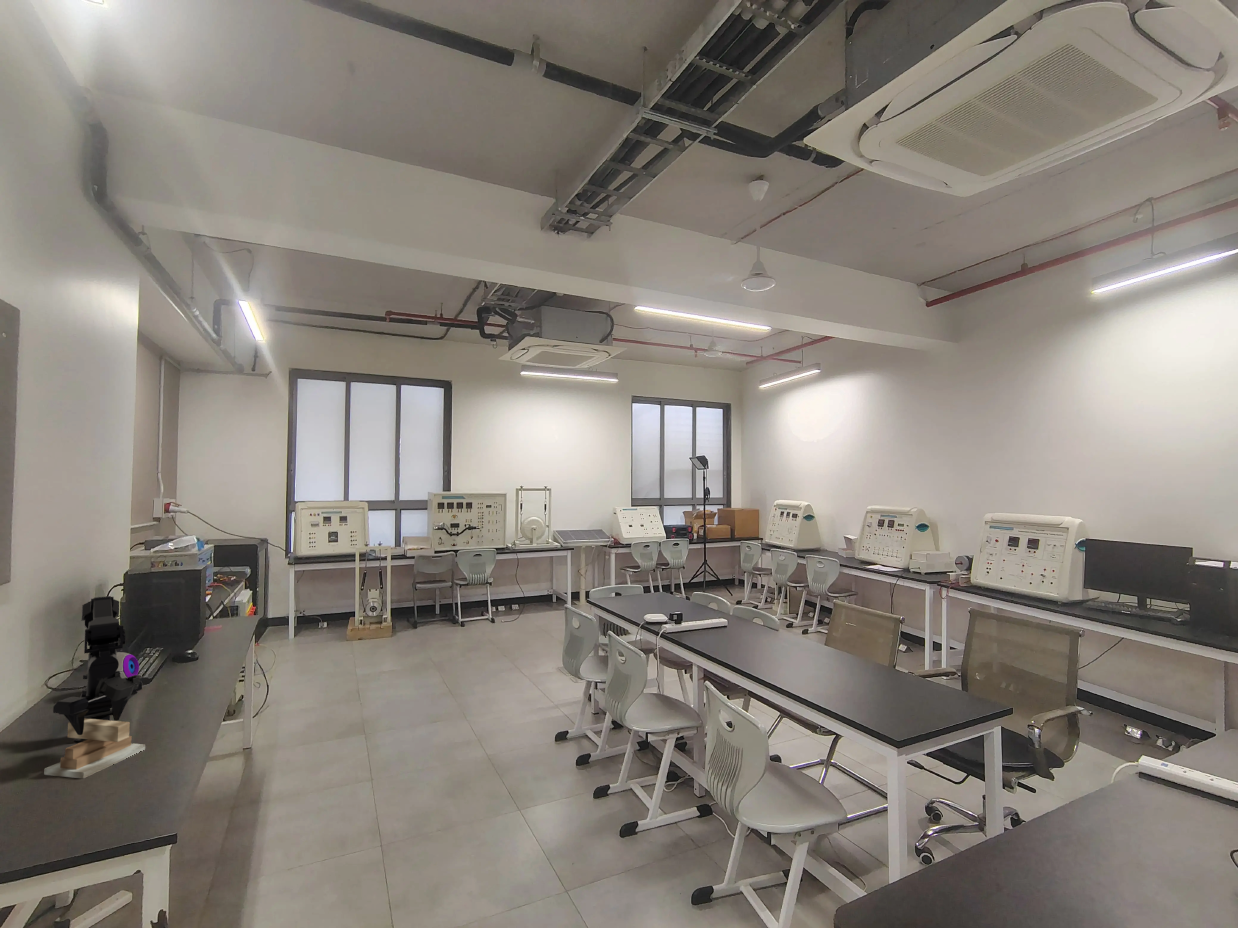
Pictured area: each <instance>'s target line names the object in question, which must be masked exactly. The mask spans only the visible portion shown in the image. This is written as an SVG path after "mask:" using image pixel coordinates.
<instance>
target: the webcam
mask: <svg viewBox="0 0 1238 928" xmlns="http://www.w3.org/2000/svg"><path fill="white" fill-rule="evenodd" d="M116 656H117V659H118V662H119V666H118V669H117V671H120V676H121V678H128V677H130V676H133V675H137V676H138V674H139V670H140V663H139V660H138V659H137V658H136V656H135V655H133V654H130V653H128V652H122V651H117V655H116Z"/></svg>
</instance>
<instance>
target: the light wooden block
mask: <svg viewBox="0 0 1238 928" xmlns="http://www.w3.org/2000/svg"><path fill="white" fill-rule="evenodd" d="M130 725H131V723H130V721H121V720H118V721H114V720H111V719H110V720H98V719H86V718H84V730H83V734H82V735H78V734H77V733H76V731H75V730H74V728H73V726H72V725H71V723H70V722H69V721H68V722H67V738H70V739H77V738H79V739H90V740H101V741H113V742H119V741H121V740H123V739H126V738H128V737H129V736H130V728H131V727H130Z"/></svg>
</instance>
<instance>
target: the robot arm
mask: <svg viewBox="0 0 1238 928" xmlns="http://www.w3.org/2000/svg"><path fill="white" fill-rule="evenodd" d="M119 614H120V601H119V600H117V599H114V596H111V595H109V596H108V595H107V596H97V597H93V598H90V601H87V602H86V603H84V604H82V607H81V620H80V621H82V622H83V621H84V622H83V626H84V637H83V638H84V641H83V643H84V647H83V653H84V654H88V658H87V672H86V673H87V674H83V675H82V679H83V680H86V687H85V688H84V689H83V690H82V691H81V692H82V693H81V694H80V696H70V697H66V698H63V699H59V700H57V701H56V702H55V703H54V704H53V709H52V711H53V712H52V713H53V714H59V715H63V716H64V717H65V718H66V720H68V722H70V723H71V725H72V726H73V728H74V730H75V731H76V733H77V734H78V735H82V734H83V730H84V718H86V719H98V720H110V721H111V716H112V718H113V721H120V718H121V716H122V714H123V712H124V709H125V707H126V706H127V703H128V701H129V700H130V699H131V698H132V697H134V696H135V695H137V694H138V692H139V691H142V690H143V682H142V680H141V679H140V676H139V675H138V674H137V675H133V676H130V677H128V678H121V676H120V671H117V669H118V666H119V662H118V659H117V656H116V655H117V652H118V651H117V649H118V650H119V649H123V646H124V645H125V644H126V628H125V627H124V625H123V624H120V619H119V618H118V617H119ZM73 740H74V741H73V742H78V743H80V742H83V741H85V740H88V739H79V738H73Z"/></svg>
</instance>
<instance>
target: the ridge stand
mask: <svg viewBox="0 0 1238 928" xmlns="http://www.w3.org/2000/svg"><path fill="white" fill-rule="evenodd" d="M132 738H133V736H132V735H129V737H128V738H126V739H123V740H121V741H119V742H113V741H101V740H90V739H88V740H85V741H83V742H78V743H76V744H73V745H71V746H68V747H65V750H64V756H62V757H60V761H59V762H57V763H55V764H52V765H49V766H48V767H45V768H44V772H43V775H45V776H52V777H53V776H54V777H63V778H64V777H66V778H73V779H74V778H76V779H86V778H87V777H90V776H92V775H94V774H96V773H98V772H100V771H103V770H105V769H107V768H109V767H111V766H113V764H114V765H116V764H118V763H120V762H122V761H124V760H126V758H127V759H128V757H129V758H131V757H133V756H135V755H137V754H139V752H140V751H142V752H144V751H145V750H146V744H143V743H132ZM143 750H144V751H143ZM136 753H137V754H136ZM140 753H141V752H140ZM134 754H135V755H134ZM132 755H133V756H132ZM130 756H131V757H130Z"/></svg>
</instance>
